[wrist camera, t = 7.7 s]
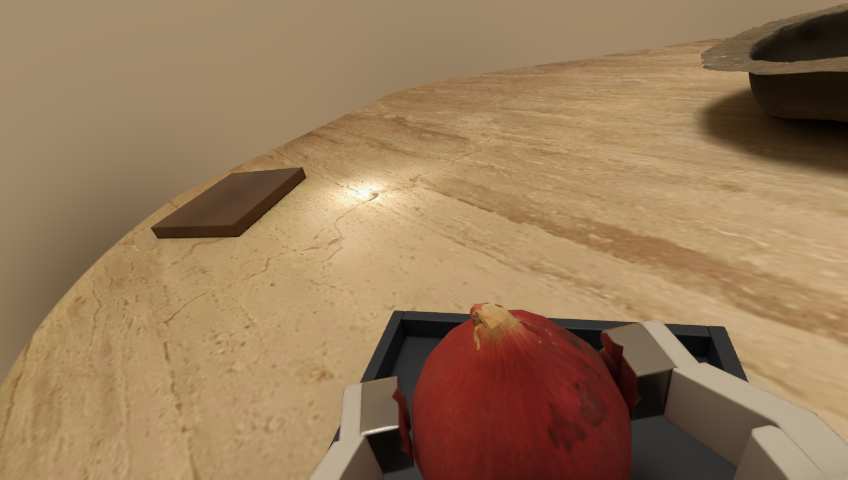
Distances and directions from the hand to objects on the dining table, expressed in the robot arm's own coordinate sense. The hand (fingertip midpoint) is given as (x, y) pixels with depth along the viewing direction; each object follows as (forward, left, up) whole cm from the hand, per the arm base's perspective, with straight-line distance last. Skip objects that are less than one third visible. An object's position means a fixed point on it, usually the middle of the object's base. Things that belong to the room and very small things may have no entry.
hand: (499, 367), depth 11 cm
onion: (0, -1, -5) cm, 5 cm away
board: (-30, +22, -6) cm, 38 cm away
